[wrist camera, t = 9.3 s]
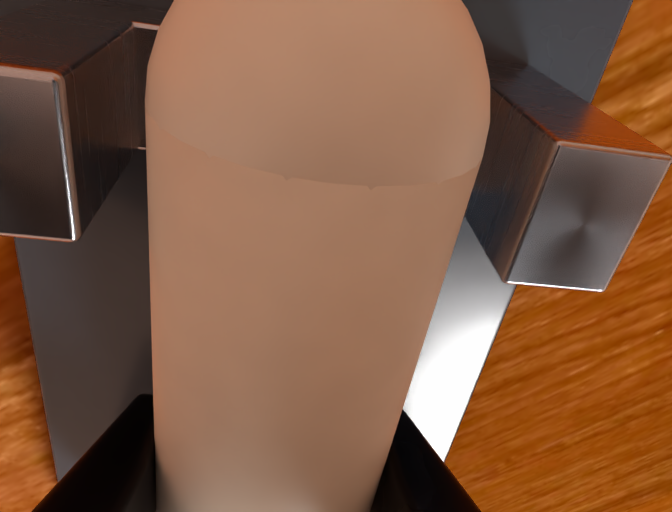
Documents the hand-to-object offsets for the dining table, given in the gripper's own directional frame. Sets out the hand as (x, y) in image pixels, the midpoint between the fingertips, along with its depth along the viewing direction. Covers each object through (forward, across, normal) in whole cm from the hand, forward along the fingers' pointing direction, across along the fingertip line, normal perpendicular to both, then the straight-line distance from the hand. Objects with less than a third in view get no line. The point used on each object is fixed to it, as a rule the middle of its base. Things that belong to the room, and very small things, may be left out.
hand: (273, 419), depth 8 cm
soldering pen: (+1, 0, -1) cm, 2 cm away
